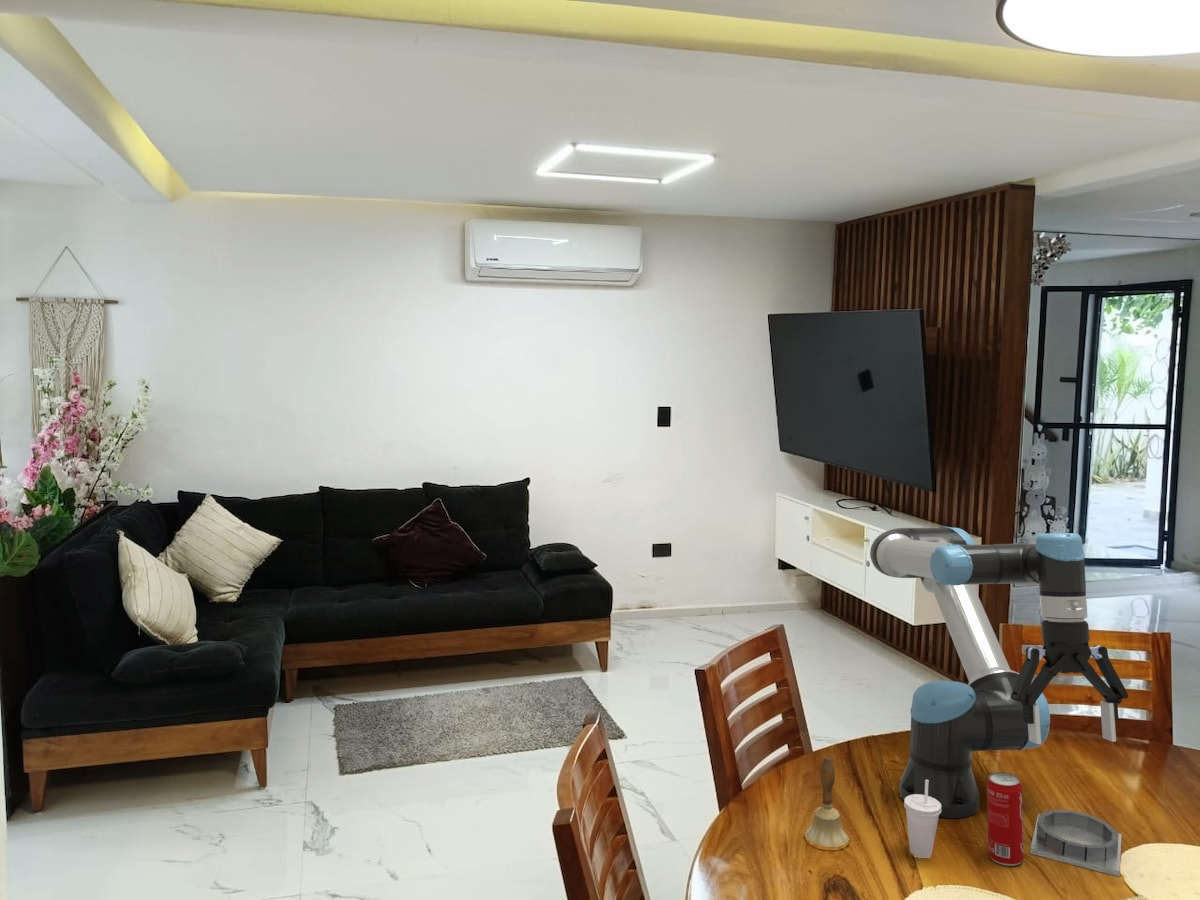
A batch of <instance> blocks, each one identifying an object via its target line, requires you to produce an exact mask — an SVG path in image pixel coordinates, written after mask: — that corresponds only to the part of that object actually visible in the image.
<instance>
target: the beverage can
mask: <svg viewBox="0 0 1200 900" xmlns="http://www.w3.org/2000/svg"><path fill="white" fill-rule="evenodd" d="M986 798H987V799H986V800H987V801H986V804H987V811H986V812H987V847H988V856H989V858H990V859H991V860H992V861H994V862H995V863H997V864H1000V865H1003V866H1009V867H1010V866H1013V867H1014V866H1019V865H1020V864H1021V863H1022V862H1023V860H1024V858H1025V857H1024V819H1023V818H1024V817H1023V815H1024V813H1023V812H1024V811H1023V786H1022V784H1021V781H1020V778H1019V777H1018V776H1016V775H1014V774H1012V773H1009V772H1001V771H999V772H998V771H997V772H992V773H990V774H989V775H988V780H987V782H986Z"/></svg>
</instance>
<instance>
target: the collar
mask: <svg viewBox="0 0 1200 900" xmlns="http://www.w3.org/2000/svg"><path fill="white" fill-rule="evenodd" d="M1034 827H1035V828H1034V831H1033V836H1032V840H1031V845H1030V849H1029V850H1030V852H1029V854H1031V855H1034V856H1038V857H1041V858H1047V859H1050V860H1053V861H1056V862H1057V861H1058V862H1062V863H1064V864H1068V865H1073V866H1076V867H1081V868H1084V869H1089V870H1090V871H1091V870H1092V871H1095V872H1100V873H1103V874H1107V875H1111V876H1113V877H1114V876H1115V877H1119V878H1120V873H1121V872H1120V871H1121V855H1122V852H1121V851H1122V850H1121V849H1122V833H1119V832H1118V831H1117V830H1115V828H1114V827H1113V826H1111V825H1110V823H1108V822H1106V821H1104V820H1103V819H1100V818H1097V817H1096V816H1093V815H1091V814H1088V813H1083V812H1078V811H1074V810H1071V809H1069V810H1068V809H1048V810H1047V811H1045V812H1042V813H1040V814H1039V813H1038V815H1037V817H1036V822H1035V826H1034Z"/></svg>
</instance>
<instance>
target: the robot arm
mask: <svg viewBox="0 0 1200 900" xmlns="http://www.w3.org/2000/svg"><path fill="white" fill-rule="evenodd" d="M1035 539H1036V541H1035V543H1028V542H1015V543H995V544H994V543H993V544H990V543H989V544H976V543H975V541H974V539H973V538H972V536H971V535H970V534H969V533H968V532H967V531H965V530H964V529H962V528H959V527H950V526H939V527H902V528H901V527H899V528H892V529H889V530H886V531H884V532H883V533H880V534H879V535H878V536H877V537H876V538H875V539H874V540H873V542H872V544H871V546H870V551H869V557H870V560H871V564H872V565H873V567H874V568H875V570H877V571H878V572H879V573H881V574H882V575H885V576H887V577H891V578H899V579H920V581H921V582H922V585H923V587H924V590H926V591H927V592H929V593H931V594H933V595H934V597H935V600H936V602H937V605H938V607H939V610H940V613H941V614H942V617H943V620H944V622H945V625H946V628H947V629H948V632H949V634H950V637H951V639H952V643H953V645H954V647H955V650H956V652H957V655H958V657H959V660H960V662H961V664H962V667H963V671H965V672H964V673H965V675H966V678H967V680H968V684H966V683H964V682H960V681H956V680H955V681H951V680H934V681H930V682H927V683H924V684H922V685H920V686H919V687H918V688H917V689H916V690H915V691H914V693H913V694H912V702H911V707H910V739H909V740H910V741H909V759H908V761H907V763H906V766H905V768H904V771H903V774H902V775H901V778H900V780H899V789H898V791H899V792H898V794H899V793H900V795H901V797H902V799H903V800H904V799H905V798H906V797H907V796H909V795H913V794H921V795H925V780H929V782H928V796H930V797H932V798H934V799H936V800H938V801H939V802H940V803H941V813H940V814H939V817H938V818H943V819H944V818H945V819H960V818H961V819H962V818H967V817H970V816H973V815H974V814H975V813H977V812H978V811H979V808H980V793H979V789H978V786H977V783H976V779H975V776H974V773H973V768H972V760H973V759H972V758H973V752H980V751H981V752H983V751H986V752H987V751H989V752H990V751H991V752H992V751H1024V750H1027V749H1028V750H1029V749H1036V748H1038V747H1041V746H1042V745H1044V743H1045V741H1046V740H1047V738H1048V735H1049V732H1050V724H1051V711H1050V708H1049V703H1048V700H1047V698H1046V696H1045V695H1044V693H1043V692H1044V691H1045V690H1046V688H1047V686H1048V685H1049V684H1050V682H1051V681H1052V680H1053V678H1054V677H1056V676H1057V675H1058V674H1059V673H1061V674H1070V673H1074V674H1079V673H1080V674H1082V675H1083V677H1084V678H1085V679H1087V681H1088V682H1089V683H1090V684H1091V686H1092V687H1093V688H1094V689H1095V690H1096V691H1097V692H1098V693H1099V694H1100V695H1101V696H1102V698H1103V699H1104V700H1100V701H1099V703H1100V705H1099V706H1100V721H1101V734H1102V739H1104V740H1107V741H1109V742H1113V743H1114V742H1117V733H1116V722H1117V721H1118V722H1119V706H1118V705H1119V704H1121V703H1122V700H1125V699H1126V700H1127V699H1128V698H1129V693H1128V691H1127V689H1126V687H1125V686H1124V684H1123V682H1122V681H1121V680H1122V679H1120V677H1119V674H1118V672H1116V670H1115V667H1114V666H1113V664H1112V662H1111V660H1110V657H1109V652H1108V648H1107V647H1106V646H1103V645H1097V644H1095V645H1093V646H1092V647H1091V646H1090V645H1089V642H1090V630H1089V623H1088V622H1087V621H1086V620H1085V619H1086V618H1088V616H1089V615H1088V605H1087V604H1088V603H1087V586H1086V584H1087V583H1086V582H1087V581H1086V566H1085V565H1086V564H1085V557H1086V555H1085V552H1084V548H1083V547H1084V546H1083V539H1082V536H1081V535H1080V534H1078V533H1074V532H1073V533H1072V532H1071V533H1070V532H1069V533H1068V532H1067V533H1066V532H1064V533H1063V532H1061V533H1059V532H1058V533H1055V532H1053V533H1040V534H1037V536H1036V538H1035ZM989 584H990V585H1001V584H1002V585H1003V584H1004V585H1007V584H1008V585H1009V584H1012V585H1013V584H1015V585H1016V584H1037V585H1038V590H1039V605H1040V606H1039V607H1040V608H1039V609H1040V617H1042V618H1044V619H1043V620H1042V621H1041V623H1040V624H1041V625H1040V626H1041V638H1042V642H1043V646H1042V648H1036V647H1031V646H1028V647H1026V648H1025V657H1024V658H1025V659H1024V662H1023V665H1022V667H1021V669H1020V672H1017V671H1015V670H1012V669H1011V668H1010V665H1009V663H1008V661H1007V659H1006V656H1005V654H1004V652H1003V649H1002V647H1001V645H1000V643H999V641H998V640H999V639H998V638H997V635H996V632H994V629H993V627H992V624H991V623H990V620H989V618H988V615H987V613H986V610H985V609H984V606H983V604H982V601H981V599H980V597H979V595H978V593H977V592H978V591H976V588H975V586H974V585H989ZM1091 657H1092V658H1093V659H1094V661H1095V663H1096V665H1097V667H1098V669H1099V670H1100V672H1101V673H1102V676H1103V677H1104V679H1105V681H1106V682H1105V681H1104V680H1103V678H1101V676H1100V675H1099V674H1098V673H1097V671H1096V669H1095V668H1094V667H1093V666H1092V665H1091V664H1090V662H1089V659H1090V658H1091ZM1043 658H1044V660H1045V661H1044V663H1043V664H1042V666H1040V671H1039V673H1038V674H1037V675H1036V677H1035V674H1036V671H1037V670H1038V667H1039V664H1040V661H1041V660H1042V659H1043ZM900 795H899V796H900ZM902 799H901V800H902ZM903 800H902V801H903Z"/></svg>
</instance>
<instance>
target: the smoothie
mask: <svg viewBox="0 0 1200 900" xmlns="http://www.w3.org/2000/svg"><path fill="white" fill-rule="evenodd" d="M928 782H929V780H925V795H921V794H913V795H909V796H907V797H906V798H905V799H904V802H903V807H904V809H905V813H906V815H905V816H906V823H907V833H908V846H909V853H910V852H911V853H912V854H913V855H915V856H917V857H920V858H927V857H930V856H931V857H932V855H933V849H934V843H935V838H936V834H937V833H936V832H937V827H938V822H939V818H940V817H939V814H940V813H941V803H940V802H939V801H938V800H936V799H934V798H932V797H930V796H928ZM911 853H910V854H911ZM913 855H912V856H913ZM931 857H930V858H931ZM920 858H919V859H920Z"/></svg>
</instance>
